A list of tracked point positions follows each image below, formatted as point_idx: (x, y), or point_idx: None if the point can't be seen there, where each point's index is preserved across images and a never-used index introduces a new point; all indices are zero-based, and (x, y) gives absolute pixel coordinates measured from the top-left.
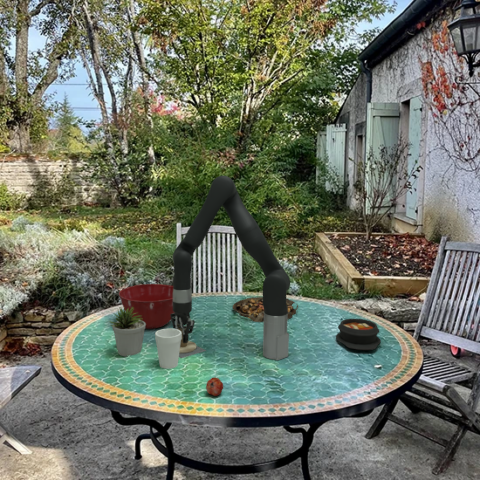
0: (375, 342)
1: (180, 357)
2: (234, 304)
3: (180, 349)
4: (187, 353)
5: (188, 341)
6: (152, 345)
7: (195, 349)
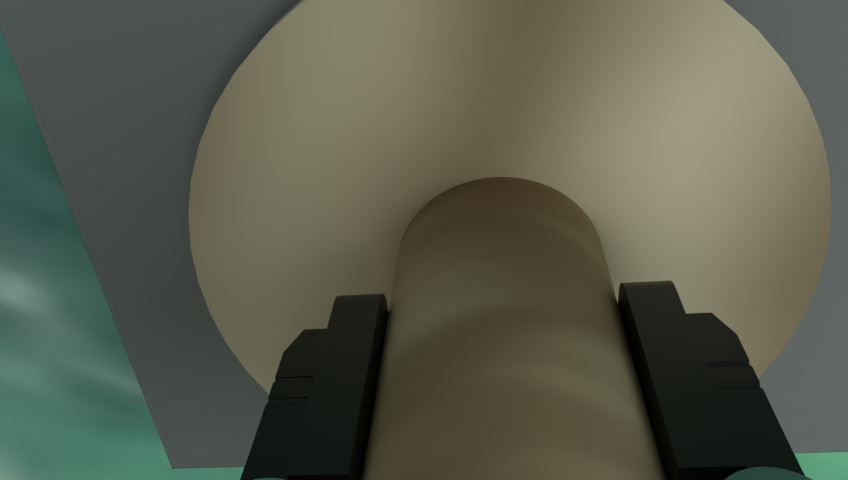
0: None
1: (834, 446)
2: None
3: None
4: None
5: (341, 25)
6: (50, 461)
7: None
